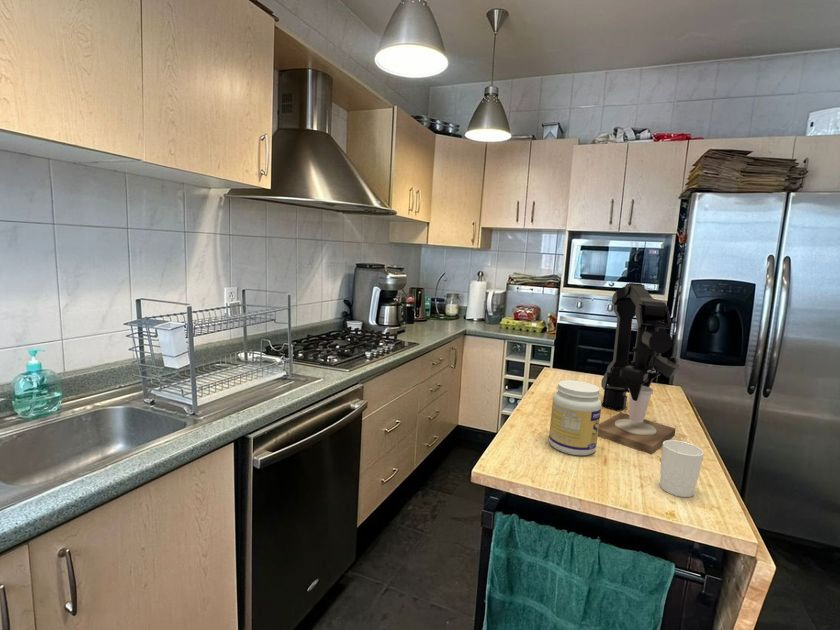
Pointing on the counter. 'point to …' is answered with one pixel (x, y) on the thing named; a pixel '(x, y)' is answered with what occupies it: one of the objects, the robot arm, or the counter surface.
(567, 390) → the supplement tub
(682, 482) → the white cup
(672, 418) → the counter surface
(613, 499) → the counter surface
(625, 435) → the walnut base
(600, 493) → the counter surface
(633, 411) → the smoothie
